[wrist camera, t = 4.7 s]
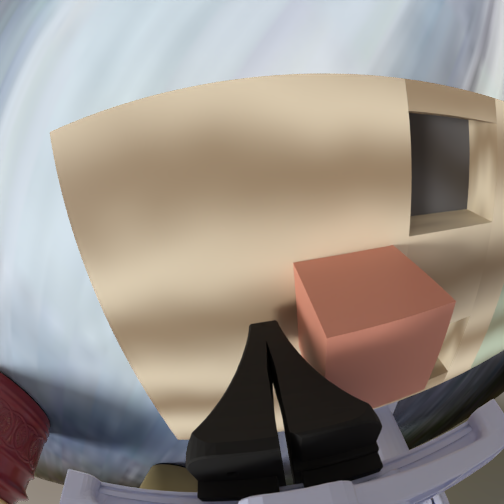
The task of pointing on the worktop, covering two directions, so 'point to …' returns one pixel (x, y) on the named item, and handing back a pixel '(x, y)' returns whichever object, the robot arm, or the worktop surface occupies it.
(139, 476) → the worktop surface
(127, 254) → the board
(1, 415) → the canister
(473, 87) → the worktop surface
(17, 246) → the worktop surface
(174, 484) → the squeeze bottle
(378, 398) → the block
